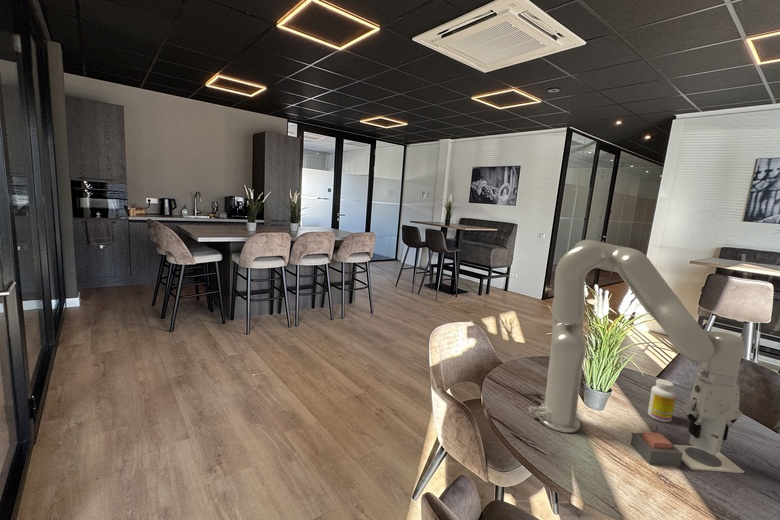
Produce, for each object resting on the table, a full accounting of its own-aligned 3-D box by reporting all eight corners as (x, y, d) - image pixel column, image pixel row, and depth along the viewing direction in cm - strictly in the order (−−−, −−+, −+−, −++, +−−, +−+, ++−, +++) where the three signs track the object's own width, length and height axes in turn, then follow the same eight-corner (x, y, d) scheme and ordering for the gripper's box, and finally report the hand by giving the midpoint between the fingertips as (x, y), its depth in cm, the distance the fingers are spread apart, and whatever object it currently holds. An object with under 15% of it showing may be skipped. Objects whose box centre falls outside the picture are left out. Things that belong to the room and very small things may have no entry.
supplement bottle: (675, 424, 120) (681, 388, 118) (653, 421, 121) (659, 385, 119) (664, 413, 126) (670, 379, 125) (643, 410, 128) (649, 376, 126)
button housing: (649, 464, 100) (651, 451, 99) (630, 444, 108) (632, 432, 107) (680, 466, 99) (682, 453, 99) (659, 446, 108) (661, 434, 107)
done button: (652, 452, 101) (654, 442, 101) (641, 441, 106) (643, 431, 105) (670, 453, 101) (672, 443, 100) (658, 442, 106) (660, 433, 105)
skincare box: (688, 443, 104) (695, 404, 102) (694, 439, 106) (701, 401, 105) (715, 456, 99) (723, 415, 97) (721, 451, 101) (729, 411, 99)
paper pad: (691, 469, 98) (691, 467, 98) (665, 445, 108) (665, 443, 108) (744, 473, 98) (744, 471, 98) (713, 448, 108) (713, 447, 108)
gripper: (696, 381, 96) (685, 442, 99) (763, 385, 95) (751, 447, 98) (675, 369, 104) (666, 426, 106) (738, 372, 103) (726, 430, 105)
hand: (707, 435), depth 102 cm, fingers closed on skincare box, 6 cm apart
